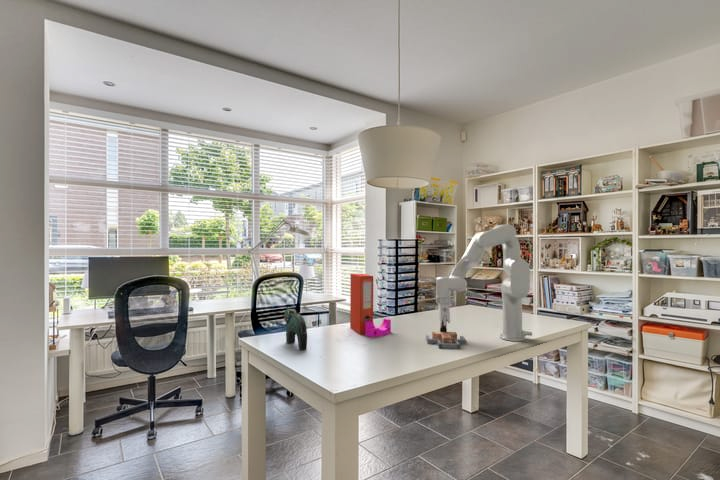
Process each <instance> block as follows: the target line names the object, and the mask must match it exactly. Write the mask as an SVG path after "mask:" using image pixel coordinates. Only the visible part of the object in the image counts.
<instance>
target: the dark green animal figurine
mask: <svg viewBox="0 0 720 480" xmlns="http://www.w3.org/2000/svg"><path fill="white" fill-rule="evenodd" d="M292 307H293V308H290V307H288V306H286V309H285V311H284V313H283V314H284V315H283V316H284V317H283V319H284V321H285V323H286V332H285V339H286V340H285V343H287V342H288V343H287V344H293V343H292V342H295V343H296V338H297V344H298V345H297V346H298V350H299V349H300V350H299V351H304V349H306V350H307V349H308V348H307V347H308V346H307V345H308V333H307V332H308V330H307V324H306V321H305V318H304V317H303V315H301V314H300V313H299V312H297V310H296V305H295V304H292Z"/></svg>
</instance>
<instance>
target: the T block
mask: <svg viewBox="0 0 720 480" xmlns="http://www.w3.org/2000/svg"><path fill="white" fill-rule="evenodd" d="M431 335H432V336H431V339H440V341H441V343H448V344H453V343H454V339H458V333H457V332H456V331H447V332H440V331H432V333H431ZM452 342H453V343H452Z"/></svg>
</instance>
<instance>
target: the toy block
mask: <svg viewBox="0 0 720 480" xmlns="http://www.w3.org/2000/svg"><path fill="white" fill-rule="evenodd" d="M391 323H392V320H391V318H383V320H382V323H381V325H380V326H379V327H376V326H375V323H374V321H373V322H370V321H367V322H365V334H364V335H365V336H367V337H369V336H370V338H377V337H382V335H383V336H387V335H388V334H390V333H392V332H391V331H392V328H391V327H392V325H391Z"/></svg>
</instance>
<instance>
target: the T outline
mask: <svg viewBox="0 0 720 480" xmlns="http://www.w3.org/2000/svg"><path fill="white" fill-rule="evenodd" d="M425 340H426V344H429V345H430V344H432V345H436V346H437V347H438V349H444V350H445V349H449V350H452V349H454V350H455V349H457V350H459V349H461V345H467V339H466V338H465V336H463V335H459V338H457V339H454V342H453V343H452V344H448V343H442V342H441V341H440V339H432V338H431V337H430V336H429V335H428V334H426V335H425Z"/></svg>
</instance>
